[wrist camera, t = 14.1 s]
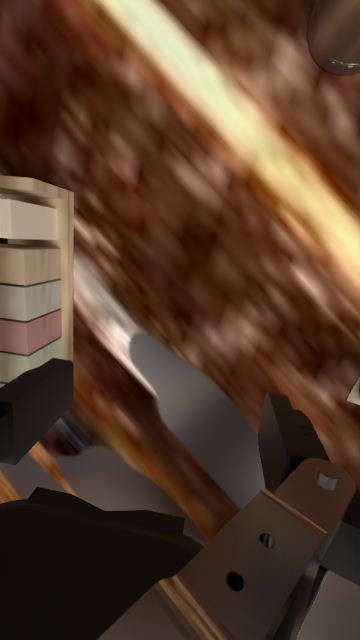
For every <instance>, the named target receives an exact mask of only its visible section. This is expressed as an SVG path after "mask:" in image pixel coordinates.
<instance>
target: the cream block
mask: <svg viewBox="0 0 360 640" xmlns="http://www.w3.org/2000/svg"><path fill="white" fill-rule="evenodd" d="M0 238H8V239H38V240H57V209H54V208H49V207H44V206H40V205H35V204H30V203H25V202H20V201H16V200H11V199H0Z"/></svg>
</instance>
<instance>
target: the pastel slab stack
mask: <svg viewBox="0 0 360 640" xmlns="http://www.w3.org/2000/svg"><path fill="white" fill-rule="evenodd" d="M0 193H1V194H5V198H6V199H11V200H16V201H20V202H25V203H30V204H35V205H40V206H44V207H49V208H54V209H57V240H38V239H8V244H0V388H1V387H2V386H4V385H5V384H9V382H10V381H12V380H13V379H16V378H17V377H18V376H19V375H21V374H22V373H24V372H25V371H28V370H31V369H34V368H37V367H40V366H41V365H43V364H44V363H46V362H47V361H49V360H50V359H52V358H59V359H65V360H71V361H72V362H73V229H74V192H71V191H69V190H66V189H63V188H60V187H57V186H54V185H51V184H48V183H45V182H42V181H40V180H37V179H34V178H25V177H13V176H1V175H0Z"/></svg>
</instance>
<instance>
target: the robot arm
mask: <svg viewBox="0 0 360 640" xmlns="http://www.w3.org/2000/svg"><path fill="white" fill-rule="evenodd" d="M308 43H309V48H310V51H311V54H312V56H313V58H314V59H315V61H316V62H317V63H318V65H319V66H320V67H322V68H323V69H324V70H325V71H327V72H330V73H332V74H335V75H341V76H346V75H354V74H357V73H360V0H316V2H315V5H314V8H313V11H312V13H311V16H310V20H309V25H308ZM72 399H73V362H72V361H71V360H65V359H59V358H52V359H50V360H49V361H47V362H46V363H44V364H43V365H41V366H40V367H37V368H34V369H31V370H28V371H25V372H24V373H22V374H21V375H19V376H18V377H17V378H16V379H13V380H12V381H10V382H9V384H5V385H4V386H2V387H1V388H0V462H3V463H8V464H13V465H16V464H17V463H18V462H19V461H20V460H21V458H23V457H24V455H25V454H26V453H27V452H28V451H29V450H30V449H31V448H32V447H33V446H34V445H35V444H36V443H37V442H38V441H39V440H40V438H41V437H42V436H43V435H44V434H45V433H46V432H47V431H48V430H49V429H50V428H51V427H52V426H53V425H54V424H55V422H56V421H57V420H58V419H59V418H60V417H61V416H62V415H63V414H64V413H65V412H66V411H67V410H68V408H69V407H70V405H71V402H72ZM258 446H259V452H260V457H261V463H262V469H263V475H264V481H265V486H266V488H264V489H262V490H261V491H260V492H259V493H258V494H257V495H256V496H255V497H254V498H253V499H252V500H251V501H250V502H249V503H248V504H247V505H246V506H245V507H244V508H243V509H242V510H241V511H240V512H239V513H238V514H237V515H236V516H235V517H234V518H233V519H232V520H231V521H230V522H229V523H228V524H227V525H226V526H225V527H224V528H223V529H222V530H221V531H220V532H219V533H218V534H217V535H216V536H215V537H214V538H213V539H212V540H211V541H210V542H209V543H208V544H207V545H206V546H203V545H202V544H201V543H200V542H199V541H197V540H196V539H194V538H193V537H191V536H189V535H187V534H185V533H184V532H183V528H184V520H185V518H181V517H177V516H172V515H167V514H163V513H158V512H153V511H148V510H136V511H104V510H102V509H99V508H97V507H96V506H94V505H92V504H90V503H88V502H86V501H84V500H82V499H80V498H78V497H76V496H74V495H72V494H68V493H64V492H59V491H54V490H50V489H44V488H40V487H37V488H36V489H35V490H34V491H33V493H32V494H31V495H30V497H29V498H28V499H23V500H15V501H10V502H5V503H2V504H0V640H296V639H297V637H298V634H299V632H300V630H301V627H302V625H303V623H304V621H305V619H306V617H307V615H308V613H309V611H310V609H311V607H312V605H313V603H314V601H315V599H316V597H317V595H318V593H319V591H320V589H321V587H322V585H323V583H324V581H325V579H326V577H327V575H328V573H329V571H332V572H334V573H336V574H338V575H340V576H342V577H344V578H345V579H348V580H349V581H351V582H353V583H355V584H357V585H359V586H360V491H358V490H356V486H355V483H354V481H353V479H352V478H351V476H350V475H349V474H348V473H347V472H346V471H345V470H343V469H342V468H341V467H339V466H337V465H336V464H334V463H332V462H330V460H329V458H328V456H327V454H326V451H325V449H324V447H323V445H322V443H321V441H320V439H319V438H318V435H317V433H316V431H315V430H314V427H313V425H312V423H311V421H310V419H309V418H308V417H307V416H306V415H305V414H303V413H302V412H301V411H300V410H294V409H292V406H291V404H290V401H289V399H288V397H287V395H281V394H275V393H268V392H267V393H266V395H265V399H264V404H263V409H262V414H261V419H260V424H259V430H258Z"/></svg>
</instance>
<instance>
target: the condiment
mask: <svg viewBox="0 0 360 640" xmlns="http://www.w3.org/2000/svg"><path fill="white" fill-rule="evenodd" d="M347 401H350V402H352V403H355V404H358V405H360V377H359V378H358V380H357V382H356V384H355V386H354V387H353V389H352V391H351V393H350V394H349V396H348V398H347Z"/></svg>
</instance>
